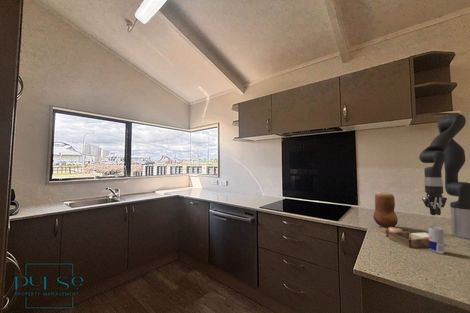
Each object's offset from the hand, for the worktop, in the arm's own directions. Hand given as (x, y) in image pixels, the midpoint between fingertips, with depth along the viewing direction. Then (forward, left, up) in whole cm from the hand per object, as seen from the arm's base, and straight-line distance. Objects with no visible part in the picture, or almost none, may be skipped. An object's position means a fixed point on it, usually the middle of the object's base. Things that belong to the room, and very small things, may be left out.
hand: (435, 214), depth 112 cm
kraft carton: (+8, 0, -15) cm, 17 cm away
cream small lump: (+14, -12, -15) cm, 24 cm away
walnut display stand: (+18, 0, -15) cm, 23 cm away
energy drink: (+15, +12, -15) cm, 25 cm away
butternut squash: (+8, -26, -15) cm, 31 cm away
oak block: (+21, -13, -15) cm, 29 cm away
